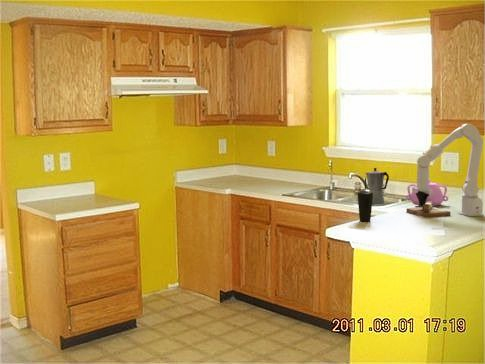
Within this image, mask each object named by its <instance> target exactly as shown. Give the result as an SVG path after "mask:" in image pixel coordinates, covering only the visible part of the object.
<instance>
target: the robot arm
mask: <svg viewBox="0 0 485 364" xmlns="http://www.w3.org/2000/svg"><path fill="white" fill-rule="evenodd" d="M462 138H466V139H467V140H468V141H469V143H471V146H470V147H471V148H470V154H469V160H468V166H467V173H466V177H465V182H464V183H463V185H462V191H463V194H462V195H461V211H458V212H457V214H459V215H462V216H463V215H464V216H468V217H476V216H477V217H478V216H484V213H483V205H484V204H483V201H482V199H481V198H480V197H479V194H478V193H479V187H478V183H479V182H478V175H479V170H480V164H481V163H480V162H481V158H482V151H483V145H484V140H483V138H482V136H481V134H480V131H479V129H478V128H477V127H476V126H475V125H474V124H471V123H463V124H461V126H459V127H457V128H456V129H455V130H453V131H452V132H451V133H450V134H448V135H447V136H446V137H445V138H444V139H443V140H442V141H440V142H439V143H437V144H435V143H434V144H433V145H432V144H431V145H430V146H429V148H428V149H427V150H426V151H425V152H422V155H420V156H418V157H417V160H416V164H417V171H416V185H417V187H415V186H411V187H412V188H411V190H412V191H418V193H416V196H417V198H418V201H419V205H420V206H419V208H420V207H422V205H424V204H425V202H426V200H427V198H428V196H429V194H433V190H431V189H429V180H430V170H429V169H430V166H431V162H434V161H435V160H436V159H437V158H439V157H440V156H441V155H442V154H443V153H444V152H443V151H444V149H445V148H446V147H448V146H449V145H450V144H452V143H453V142H454V141H455V140H457V139H462Z"/></svg>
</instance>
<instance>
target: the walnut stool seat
mask: <svg viewBox="0 0 485 364" xmlns="http://www.w3.org/2000/svg"><path fill="white" fill-rule="evenodd" d="M406 213H407V214H412V215H414V216H419V217H421V216H422V218H438V217H451V211H450V210H446V209H442V208H438V207H435V206H433V207H432V208H431V209H430V210H429V204H424V211H422V207H420V206H419V207H407V208H406Z"/></svg>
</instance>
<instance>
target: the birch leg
mask: <svg viewBox="0 0 485 364" xmlns="http://www.w3.org/2000/svg"><path fill="white" fill-rule="evenodd" d="M426 204H429V210H430V209H431V208H432V207H434V206H433V201H427V203H426ZM422 211H424V205H422Z"/></svg>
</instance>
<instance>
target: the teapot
mask: <svg viewBox="0 0 485 364" xmlns="http://www.w3.org/2000/svg"><path fill="white" fill-rule="evenodd" d="M410 187H417V183H410V184H409V185H408V186H407V188H406V189H407V194H406V196H405V199H406V200H407V201H411V202H412V204H413V205H416V206H419V207H420V205H419V201H418V198H417V196H416V193H418V191H412V192H411V189H410ZM440 187H442V188H444V192H442V189H441V188H440ZM429 189H431V190H433V194H429V196H428V198H427V200H426V202H425V204H426V203H427V201H433V207H436V206H441V204H442V203H443V202H448V201H449V197H448V196H447V190H448V188H447V186H446V185H444V184H442V183H441V184H438V183H436V182H431V179H429ZM445 198H446V199H445Z"/></svg>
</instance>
